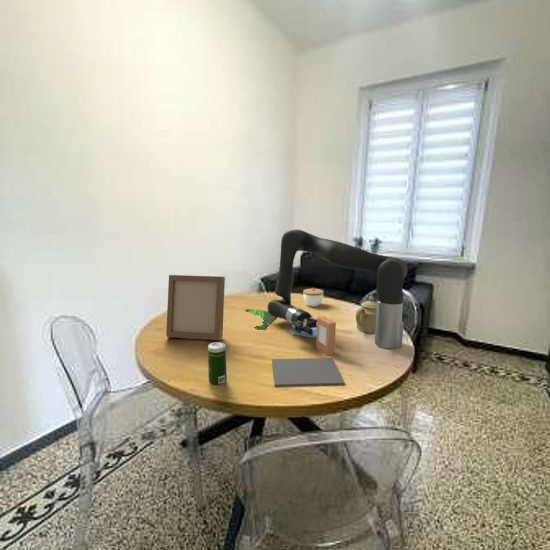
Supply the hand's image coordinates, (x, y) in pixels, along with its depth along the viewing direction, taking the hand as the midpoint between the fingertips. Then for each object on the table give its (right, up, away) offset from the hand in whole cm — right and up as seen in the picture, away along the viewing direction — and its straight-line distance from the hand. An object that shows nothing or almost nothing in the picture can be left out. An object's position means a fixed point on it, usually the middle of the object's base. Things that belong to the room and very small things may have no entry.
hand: (321, 330), depth 127 cm
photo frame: (-49, -4, +15) cm, 51 cm away
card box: (+1, -7, -1) cm, 8 cm away
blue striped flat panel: (-3, -4, +20) cm, 20 cm away
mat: (-7, -11, -17) cm, 21 cm away
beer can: (-35, -12, -23) cm, 44 cm away
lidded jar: (+3, +4, +56) cm, 56 cm away
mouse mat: (-29, -1, +33) cm, 44 cm away
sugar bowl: (+23, -3, +20) cm, 31 cm away
